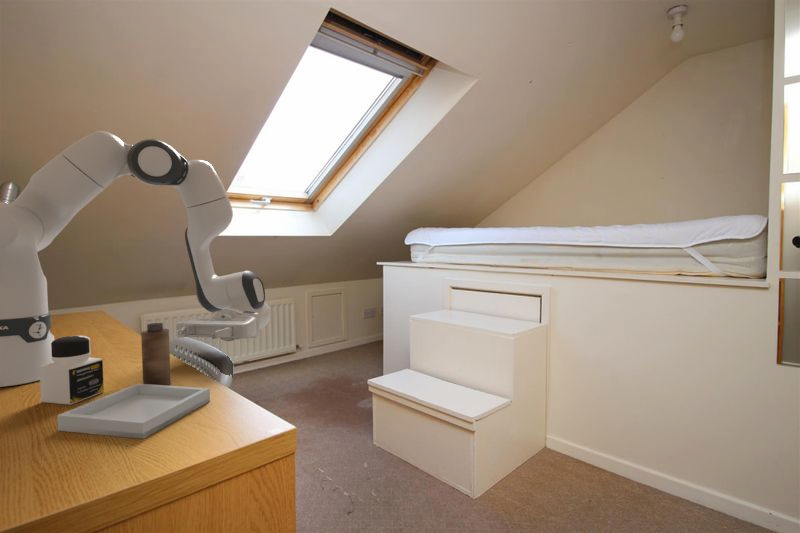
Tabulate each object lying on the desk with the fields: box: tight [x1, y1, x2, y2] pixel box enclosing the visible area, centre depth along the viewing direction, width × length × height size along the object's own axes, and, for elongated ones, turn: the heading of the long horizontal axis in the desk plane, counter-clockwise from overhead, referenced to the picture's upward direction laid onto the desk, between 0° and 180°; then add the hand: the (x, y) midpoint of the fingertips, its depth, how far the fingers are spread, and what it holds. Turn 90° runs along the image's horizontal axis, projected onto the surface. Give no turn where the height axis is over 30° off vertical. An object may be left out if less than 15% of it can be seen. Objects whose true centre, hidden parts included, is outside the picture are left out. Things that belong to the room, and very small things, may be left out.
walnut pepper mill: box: [140, 322, 172, 386], centre depth 88 cm, size 5×5×14 cm
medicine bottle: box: [39, 335, 105, 406], centre depth 82 cm, size 7×7×12 cm
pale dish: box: [57, 383, 211, 440], centre depth 74 cm, size 16×16×2 cm
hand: (196, 334), depth 100 cm, fingers open, 8 cm apart
